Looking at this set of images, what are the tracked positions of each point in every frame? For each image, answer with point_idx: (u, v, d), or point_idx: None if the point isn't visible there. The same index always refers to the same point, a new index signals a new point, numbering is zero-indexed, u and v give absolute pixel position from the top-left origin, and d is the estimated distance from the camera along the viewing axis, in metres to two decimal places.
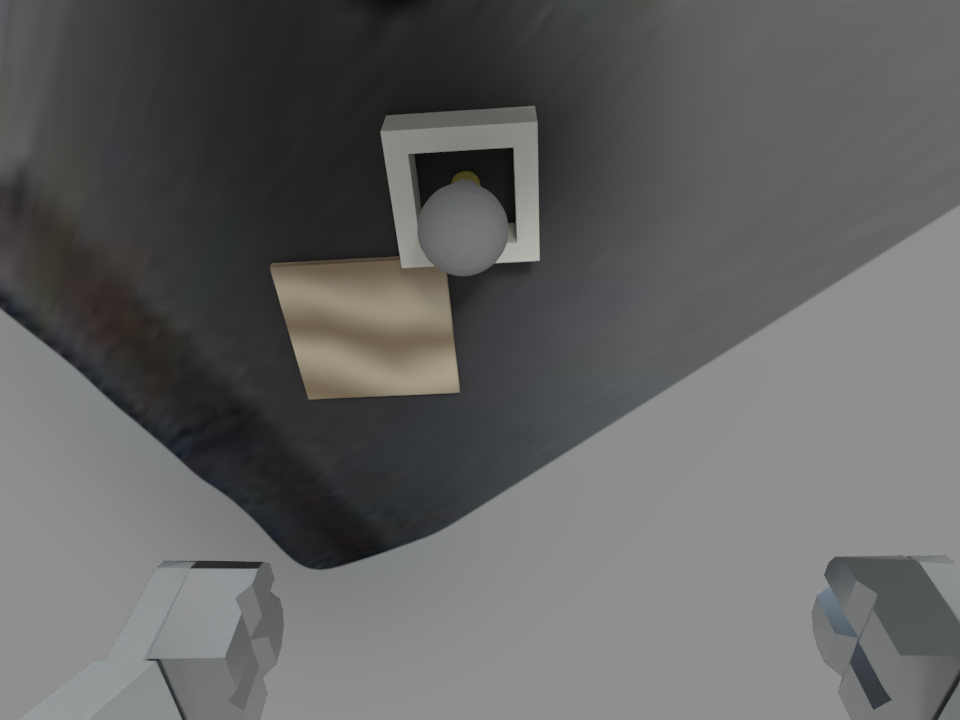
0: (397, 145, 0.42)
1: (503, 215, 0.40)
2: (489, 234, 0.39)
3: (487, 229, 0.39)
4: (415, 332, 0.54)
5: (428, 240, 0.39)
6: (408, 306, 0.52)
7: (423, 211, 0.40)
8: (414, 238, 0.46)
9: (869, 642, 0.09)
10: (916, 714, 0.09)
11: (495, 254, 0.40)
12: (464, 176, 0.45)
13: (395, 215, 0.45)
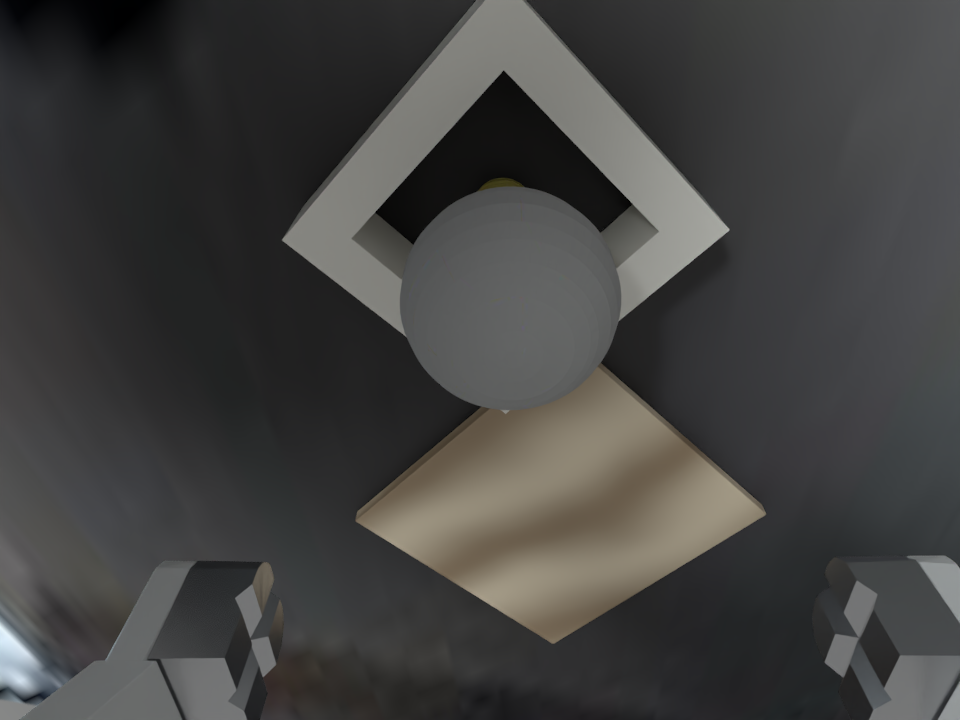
0: (324, 239, 0.21)
1: (555, 210, 0.15)
2: (544, 276, 0.14)
3: (531, 269, 0.14)
4: (621, 475, 0.29)
5: (442, 379, 0.16)
6: (579, 447, 0.28)
7: (403, 326, 0.17)
8: None
9: (869, 642, 0.09)
10: (916, 714, 0.09)
11: (596, 303, 0.15)
12: None
13: None
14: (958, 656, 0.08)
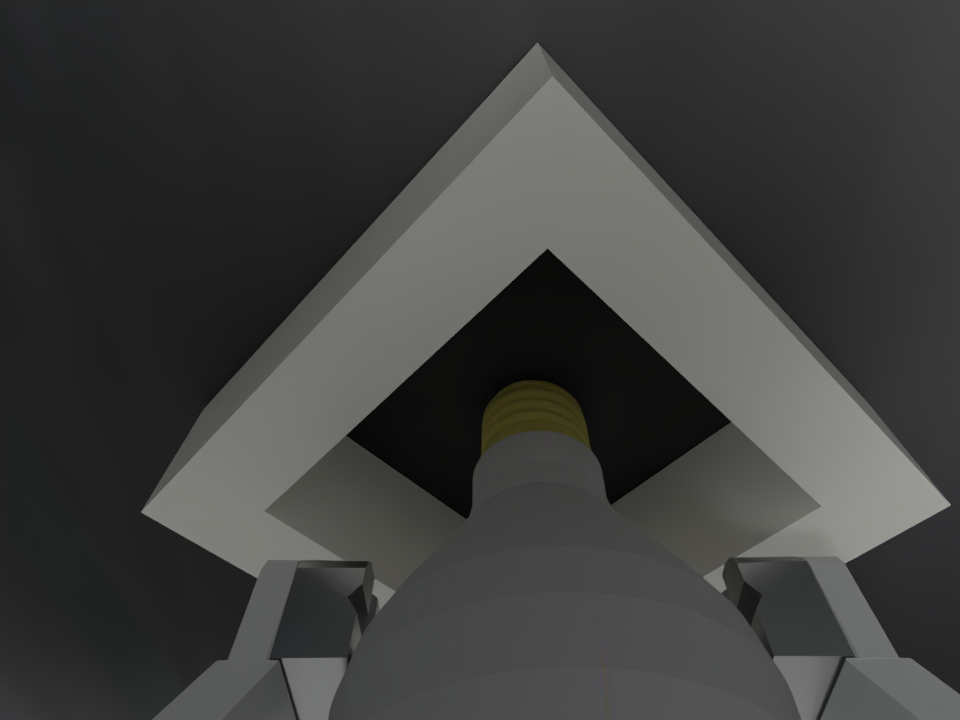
0: (216, 511, 0.12)
1: (689, 678, 0.06)
2: None
3: None
4: None
5: None
6: None
7: None
8: None
9: None
10: None
11: None
12: (497, 422, 0.12)
13: None
14: (831, 656, 0.08)
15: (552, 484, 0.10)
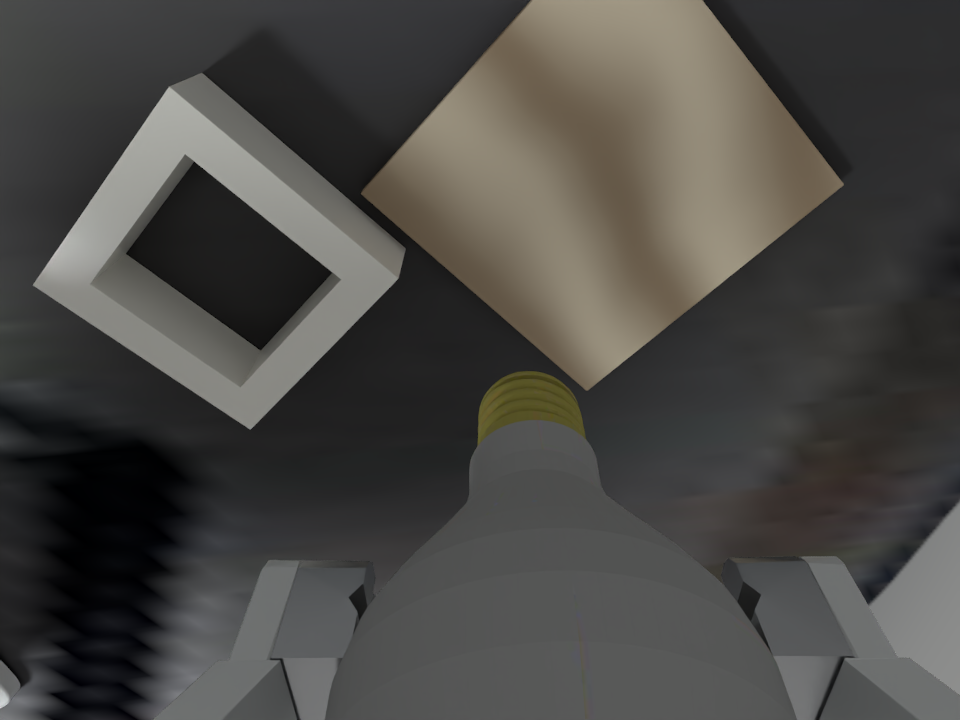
0: (244, 404, 0.28)
1: (665, 648, 0.06)
2: None
3: None
4: (538, 121, 0.25)
5: None
6: (494, 173, 0.26)
7: None
8: (335, 298, 0.25)
9: None
10: (798, 714, 0.09)
11: None
12: (491, 414, 0.12)
13: (329, 344, 0.27)
14: (830, 657, 0.08)
15: (542, 471, 0.10)
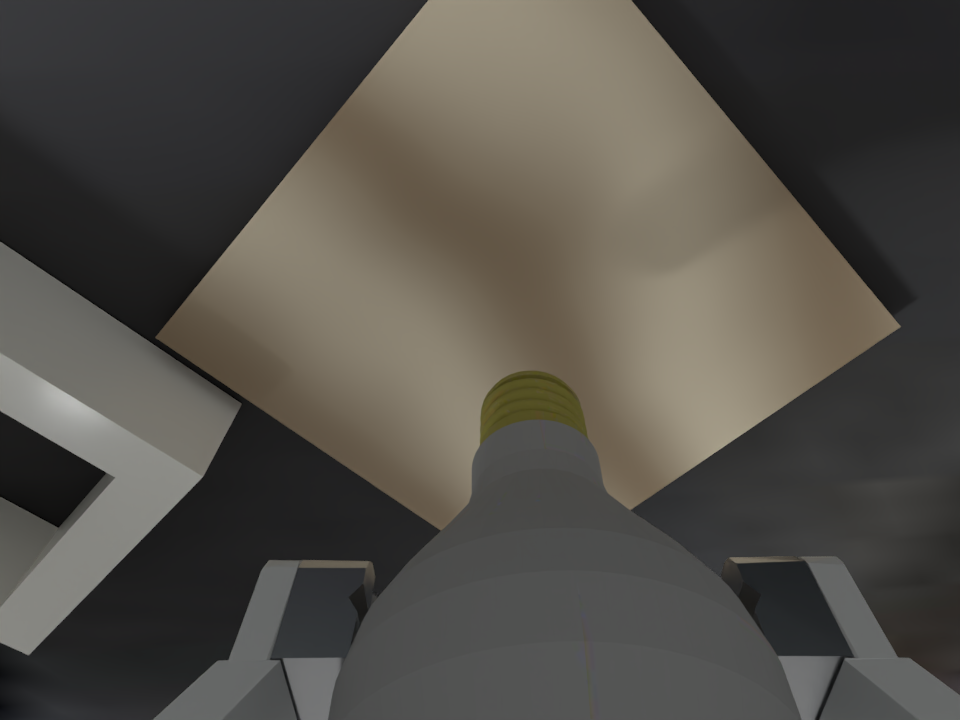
0: (11, 626, 0.19)
1: (670, 648, 0.06)
2: None
3: None
4: (415, 236, 0.15)
5: None
6: (356, 310, 0.17)
7: None
8: (112, 501, 0.17)
9: None
10: None
11: None
12: (494, 413, 0.12)
13: (116, 558, 0.18)
14: (830, 656, 0.08)
15: (545, 470, 0.10)
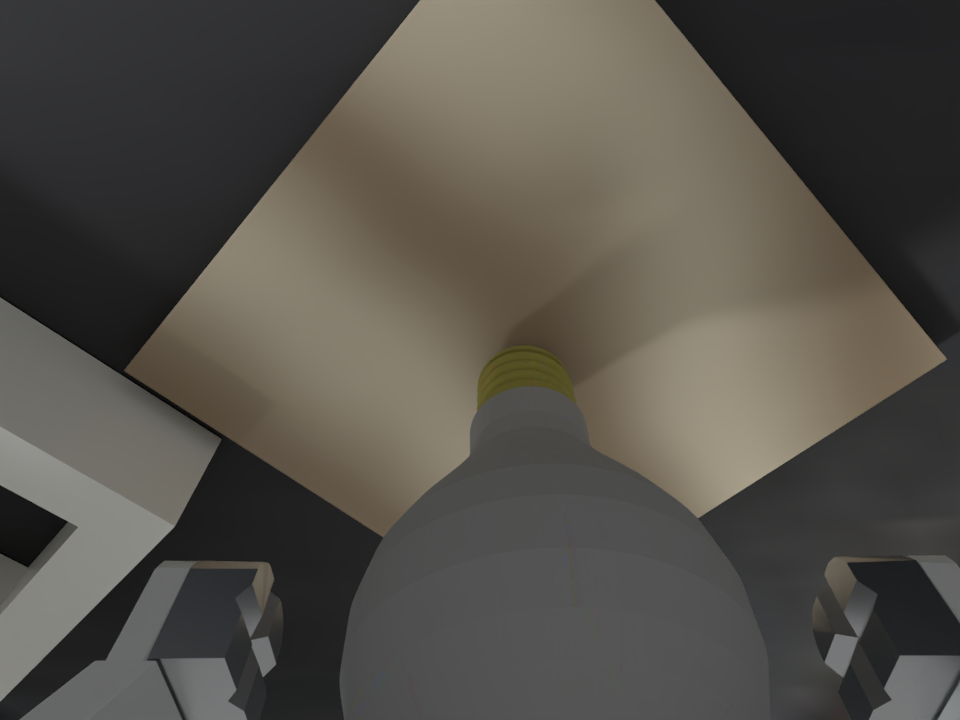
0: None
1: (642, 554, 0.07)
2: None
3: None
4: (409, 262, 0.14)
5: None
6: (344, 342, 0.15)
7: None
8: (76, 551, 0.15)
9: (869, 643, 0.09)
10: (916, 714, 0.09)
11: None
12: (490, 383, 0.14)
13: (83, 610, 0.16)
14: (958, 656, 0.08)
15: (537, 428, 0.11)
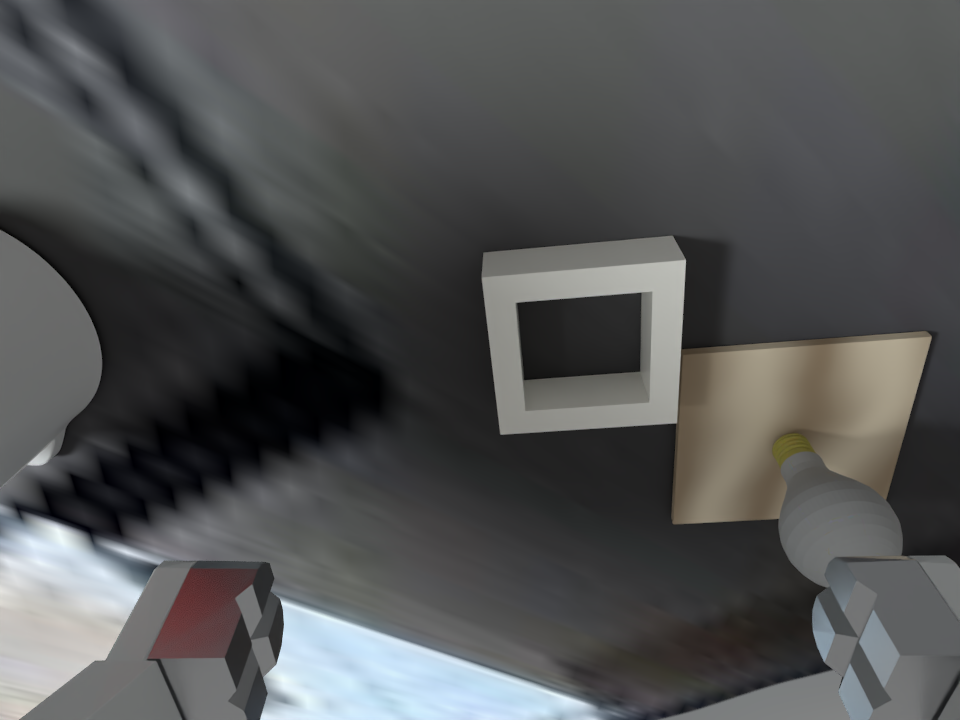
0: (515, 420, 0.37)
1: (898, 520, 0.33)
2: (895, 553, 0.32)
3: (894, 548, 0.32)
4: (798, 390, 0.38)
5: (815, 561, 0.32)
6: (753, 396, 0.39)
7: (800, 522, 0.33)
8: (635, 408, 0.36)
9: (869, 642, 0.09)
10: (916, 714, 0.09)
11: None
12: (798, 444, 0.38)
13: (602, 426, 0.37)
14: (958, 656, 0.08)
15: None
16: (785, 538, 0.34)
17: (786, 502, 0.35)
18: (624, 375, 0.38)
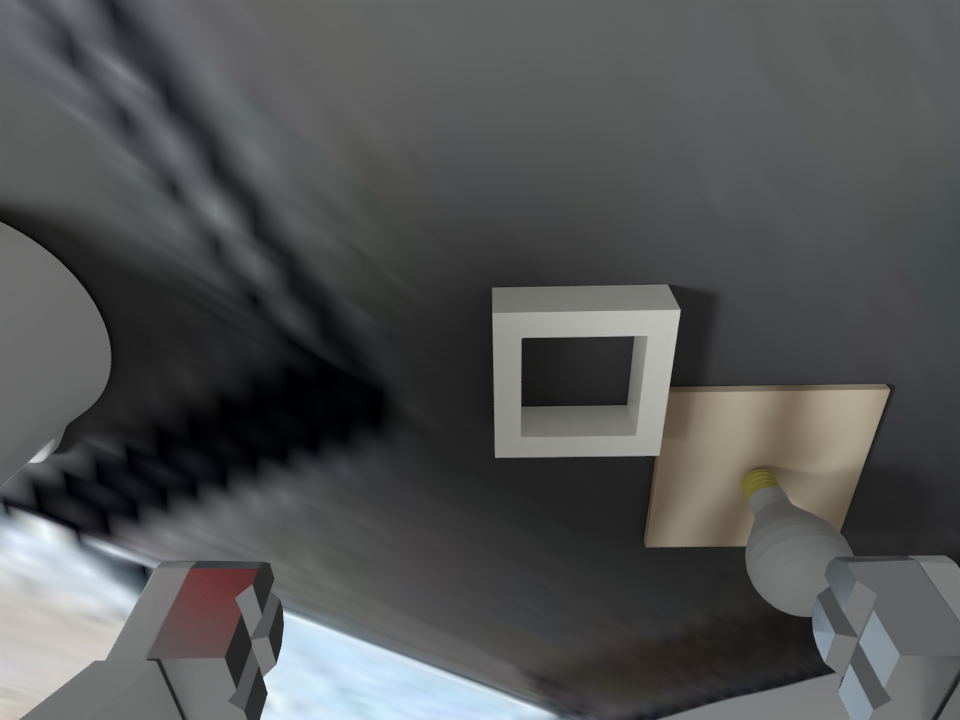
0: (510, 445, 0.39)
1: (852, 554, 0.36)
2: None
3: None
4: (769, 430, 0.42)
5: (777, 588, 0.36)
6: (728, 433, 0.42)
7: (766, 551, 0.36)
8: (622, 440, 0.39)
9: (869, 643, 0.09)
10: (916, 714, 0.09)
11: None
12: (766, 479, 0.42)
13: (590, 454, 0.40)
14: (958, 656, 0.08)
15: None
16: (751, 565, 0.37)
17: (753, 532, 0.38)
18: (612, 407, 0.41)
